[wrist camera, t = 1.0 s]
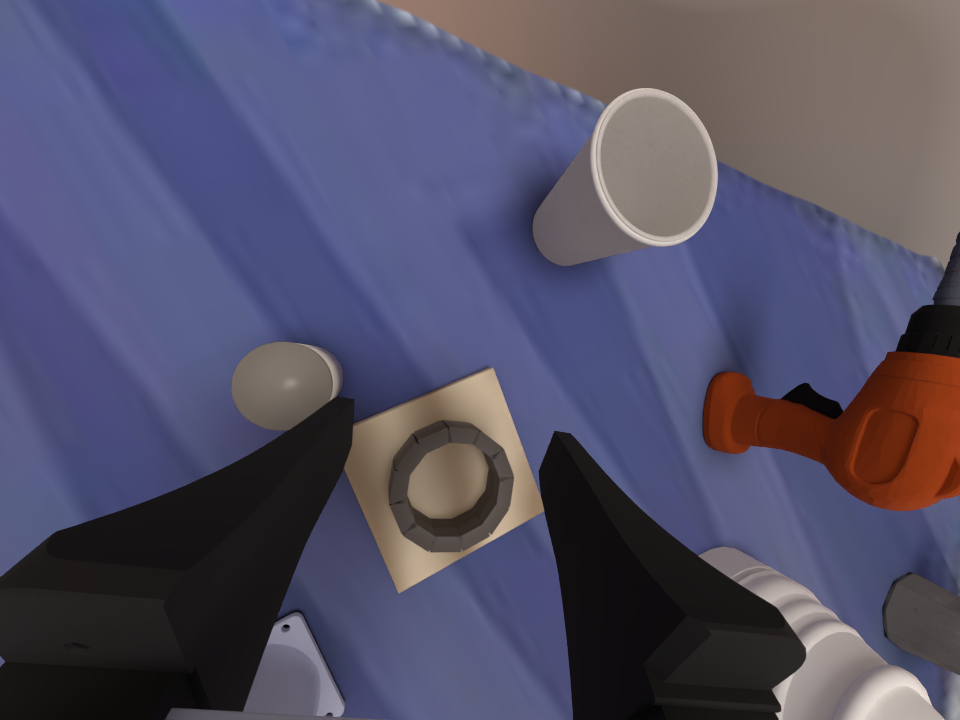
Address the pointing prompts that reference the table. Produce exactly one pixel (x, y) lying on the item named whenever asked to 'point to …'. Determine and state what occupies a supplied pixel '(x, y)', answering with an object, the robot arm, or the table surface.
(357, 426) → the square plate with ring
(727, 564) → the honey pot
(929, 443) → the toy drill
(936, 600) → the coffeepot
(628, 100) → the dixie cup
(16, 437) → the table surface
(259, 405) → the grey cylinder
